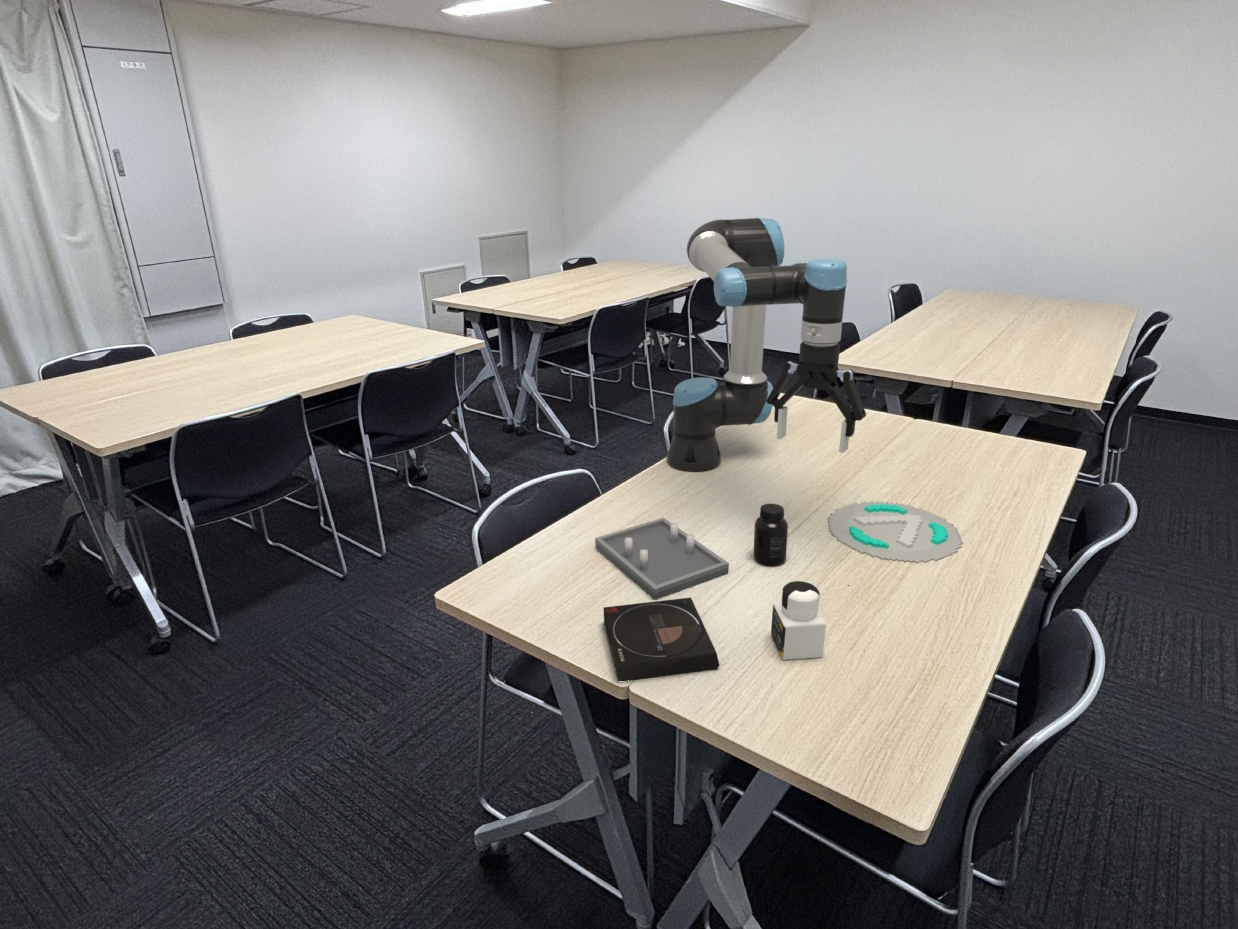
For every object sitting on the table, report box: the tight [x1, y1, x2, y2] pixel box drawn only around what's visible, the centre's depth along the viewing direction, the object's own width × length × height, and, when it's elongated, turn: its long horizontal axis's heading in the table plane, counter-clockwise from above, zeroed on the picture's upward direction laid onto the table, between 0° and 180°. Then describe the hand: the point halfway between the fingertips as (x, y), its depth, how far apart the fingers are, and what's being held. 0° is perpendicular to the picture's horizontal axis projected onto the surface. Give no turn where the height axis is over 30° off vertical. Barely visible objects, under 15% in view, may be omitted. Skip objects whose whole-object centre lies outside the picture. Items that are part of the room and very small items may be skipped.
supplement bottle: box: [753, 503, 789, 567], centre depth 148 cm, size 7×7×12 cm
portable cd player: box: [603, 596, 720, 682], centre depth 124 cm, size 16×17×4 cm
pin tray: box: [594, 517, 730, 601], centre depth 150 cm, size 24×18×6 cm
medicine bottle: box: [770, 580, 827, 661], centre depth 121 cm, size 7×7×12 cm
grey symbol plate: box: [827, 500, 964, 564], centre depth 161 cm, size 28×28×2 cm
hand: (811, 444), depth 147 cm, fingers open, 13 cm apart
